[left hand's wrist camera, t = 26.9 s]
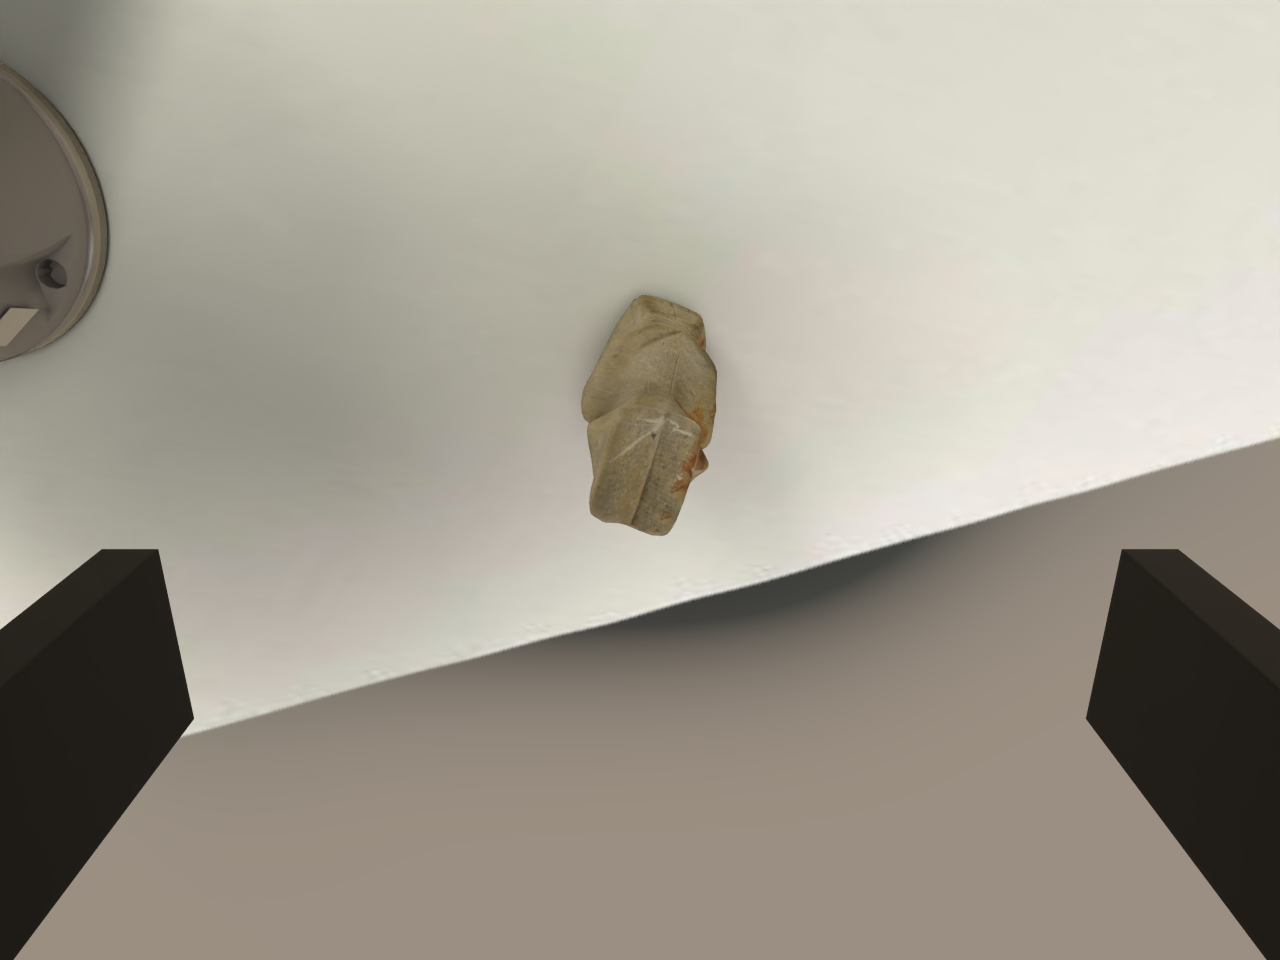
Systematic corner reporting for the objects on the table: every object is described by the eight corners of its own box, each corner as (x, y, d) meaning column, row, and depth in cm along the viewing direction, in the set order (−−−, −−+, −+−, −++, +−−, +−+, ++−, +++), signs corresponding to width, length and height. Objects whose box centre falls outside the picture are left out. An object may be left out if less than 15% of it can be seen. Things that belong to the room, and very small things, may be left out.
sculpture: (570, 400, 48) (542, 514, 34) (621, 272, 46) (612, 337, 32) (672, 440, 49) (685, 566, 35) (727, 315, 47) (764, 398, 33)
